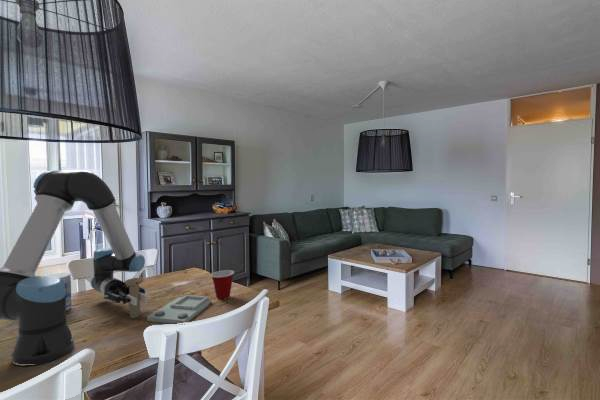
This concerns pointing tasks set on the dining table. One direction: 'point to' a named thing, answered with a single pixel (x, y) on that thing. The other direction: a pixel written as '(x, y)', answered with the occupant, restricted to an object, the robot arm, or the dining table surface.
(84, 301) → the dining table surface
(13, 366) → the dining table surface
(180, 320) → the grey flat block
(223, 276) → the plastic cup
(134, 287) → the handle
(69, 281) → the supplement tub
